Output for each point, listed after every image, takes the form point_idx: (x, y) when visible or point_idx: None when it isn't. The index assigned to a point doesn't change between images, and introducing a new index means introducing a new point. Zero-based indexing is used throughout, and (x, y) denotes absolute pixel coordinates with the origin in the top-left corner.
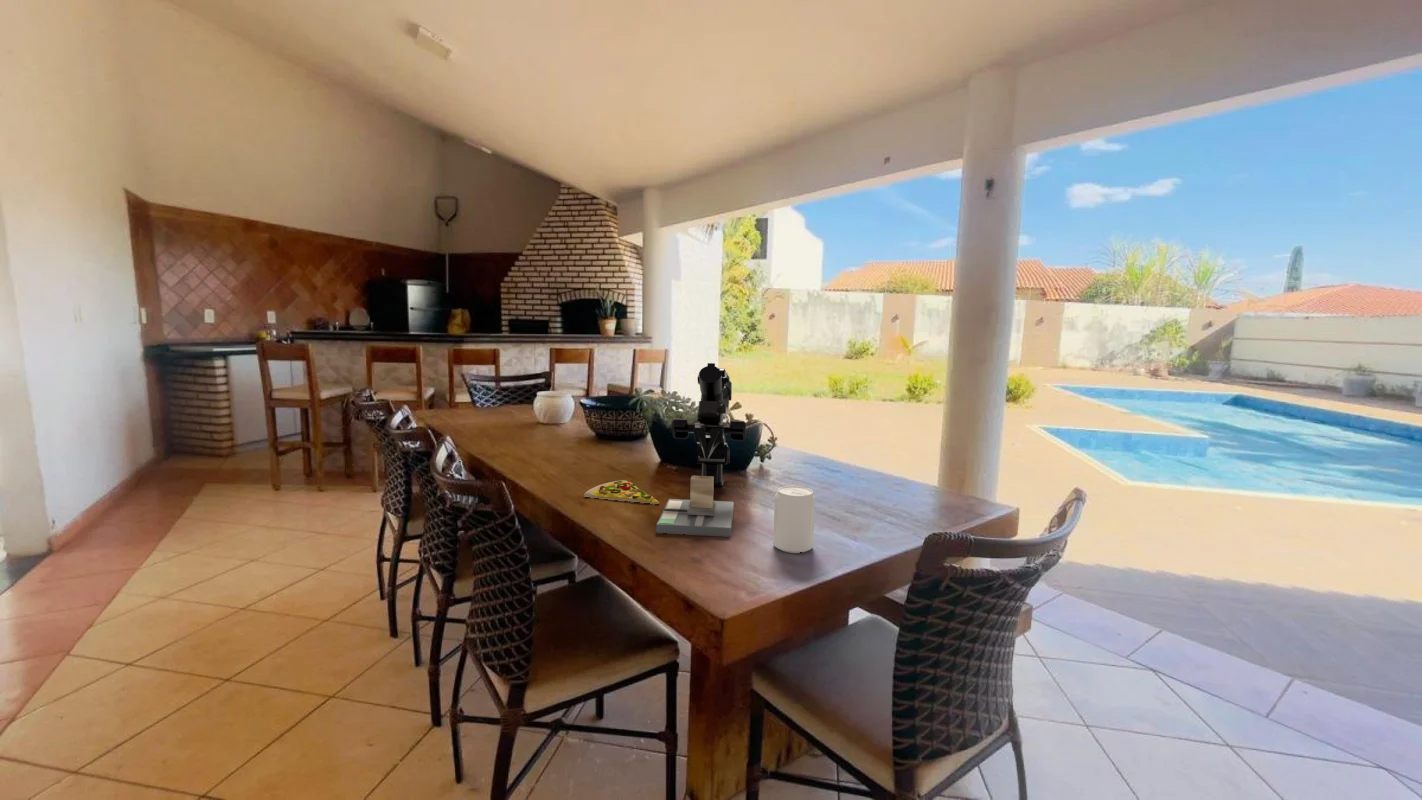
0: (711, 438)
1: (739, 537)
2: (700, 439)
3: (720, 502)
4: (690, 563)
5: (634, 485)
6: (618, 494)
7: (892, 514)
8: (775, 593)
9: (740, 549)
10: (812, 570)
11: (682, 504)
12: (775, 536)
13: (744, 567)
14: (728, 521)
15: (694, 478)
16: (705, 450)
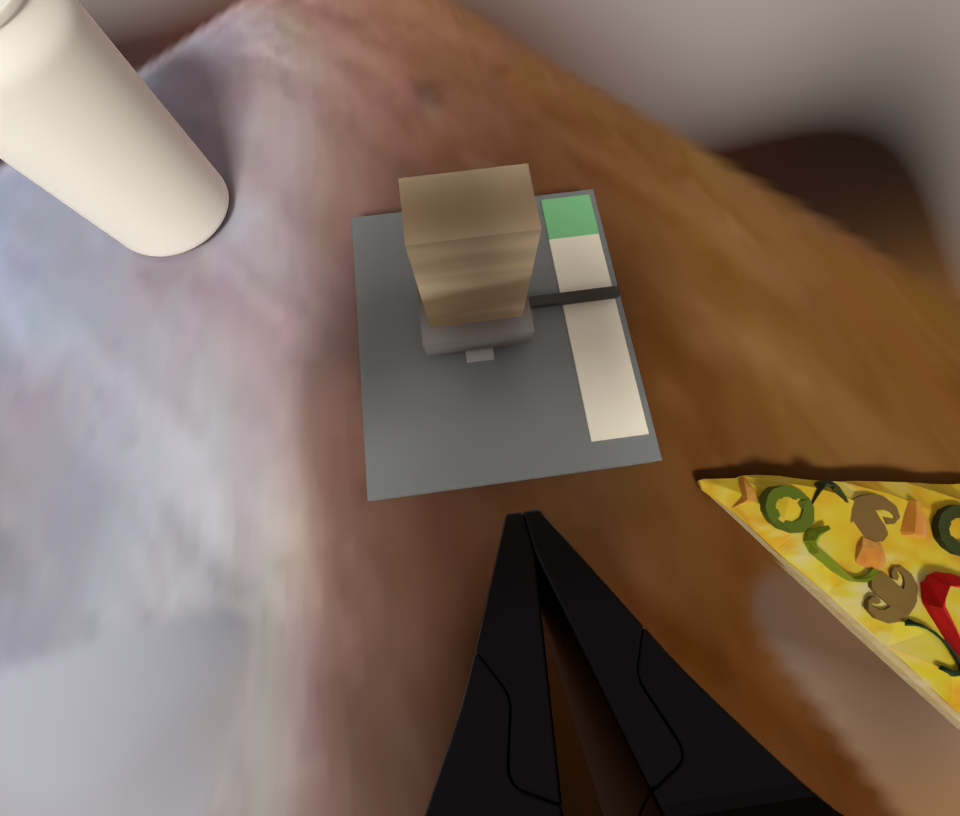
0: (520, 794)
1: (334, 242)
2: (736, 723)
3: (425, 473)
4: (438, 76)
5: (941, 667)
6: (919, 501)
7: None
8: (245, 7)
9: (326, 169)
10: None
11: (578, 402)
12: (203, 156)
13: (310, 85)
14: (364, 268)
15: (509, 181)
16: (556, 557)
